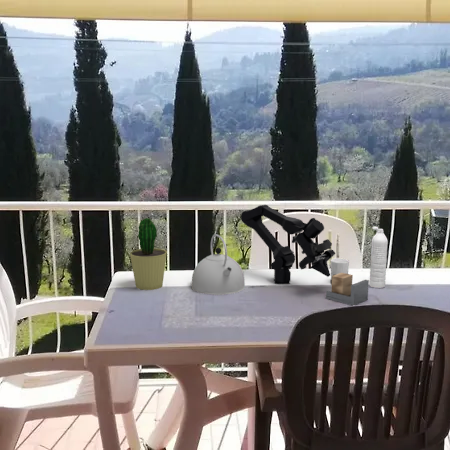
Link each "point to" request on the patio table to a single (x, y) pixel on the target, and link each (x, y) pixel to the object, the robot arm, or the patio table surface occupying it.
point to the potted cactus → (148, 258)
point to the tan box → (342, 283)
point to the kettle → (218, 274)
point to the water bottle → (378, 259)
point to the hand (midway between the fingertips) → (329, 276)
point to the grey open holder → (357, 294)
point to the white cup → (339, 266)
